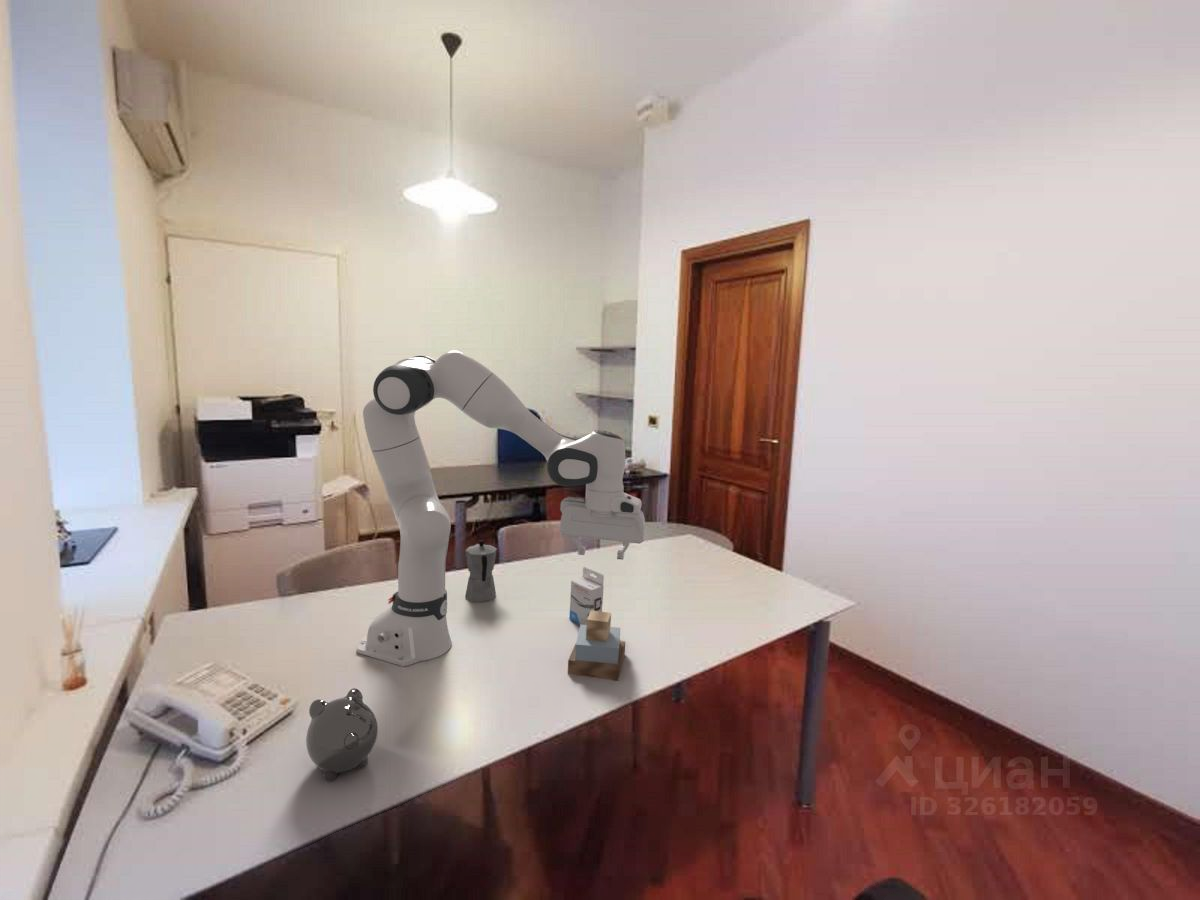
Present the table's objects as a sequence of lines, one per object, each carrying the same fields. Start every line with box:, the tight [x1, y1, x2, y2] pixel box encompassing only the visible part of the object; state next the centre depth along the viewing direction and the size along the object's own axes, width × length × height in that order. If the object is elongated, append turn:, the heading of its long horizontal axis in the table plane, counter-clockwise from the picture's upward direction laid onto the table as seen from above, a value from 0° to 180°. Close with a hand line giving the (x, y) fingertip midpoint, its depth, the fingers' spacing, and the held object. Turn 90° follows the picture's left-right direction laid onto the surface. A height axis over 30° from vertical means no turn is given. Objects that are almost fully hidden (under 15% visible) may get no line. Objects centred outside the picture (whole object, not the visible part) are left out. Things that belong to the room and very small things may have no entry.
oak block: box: [586, 610, 612, 642], centre depth 131 cm, size 5×5×5 cm
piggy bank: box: [305, 687, 379, 782], centre depth 95 cm, size 11×15×12 cm
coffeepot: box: [464, 539, 498, 603], centre depth 164 cm, size 15×9×18 cm, turn 19°
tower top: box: [575, 624, 621, 664], centre depth 131 cm, size 10×10×4 cm
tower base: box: [567, 640, 626, 682], centre depth 132 cm, size 12×12×4 cm
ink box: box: [569, 566, 605, 625], centre depth 152 cm, size 9×5×15 cm, turn 47°
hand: (600, 556), depth 129 cm, fingers open, 8 cm apart
